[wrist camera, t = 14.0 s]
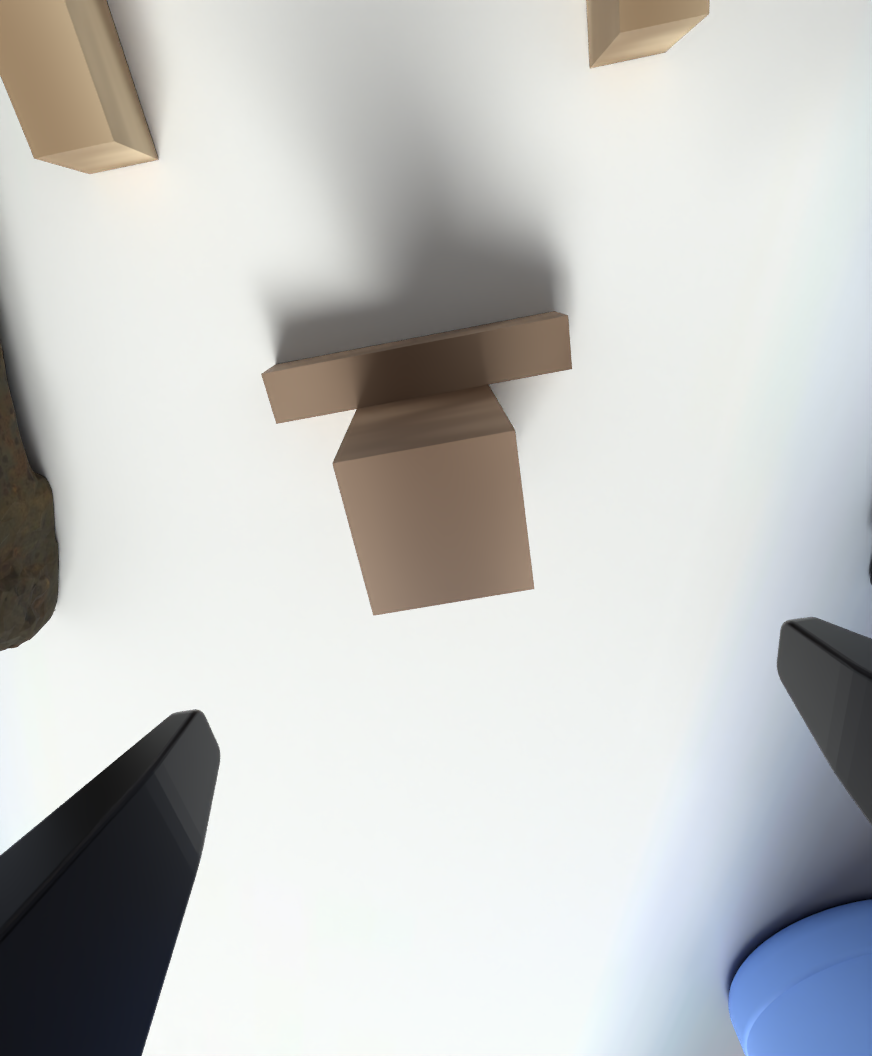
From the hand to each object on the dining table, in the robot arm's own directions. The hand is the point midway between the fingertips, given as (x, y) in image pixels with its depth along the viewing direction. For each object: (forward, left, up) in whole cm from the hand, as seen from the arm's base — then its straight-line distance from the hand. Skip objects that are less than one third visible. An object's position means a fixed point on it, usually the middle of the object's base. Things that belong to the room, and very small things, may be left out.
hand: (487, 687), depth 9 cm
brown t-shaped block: (+1, -1, -12) cm, 12 cm away
